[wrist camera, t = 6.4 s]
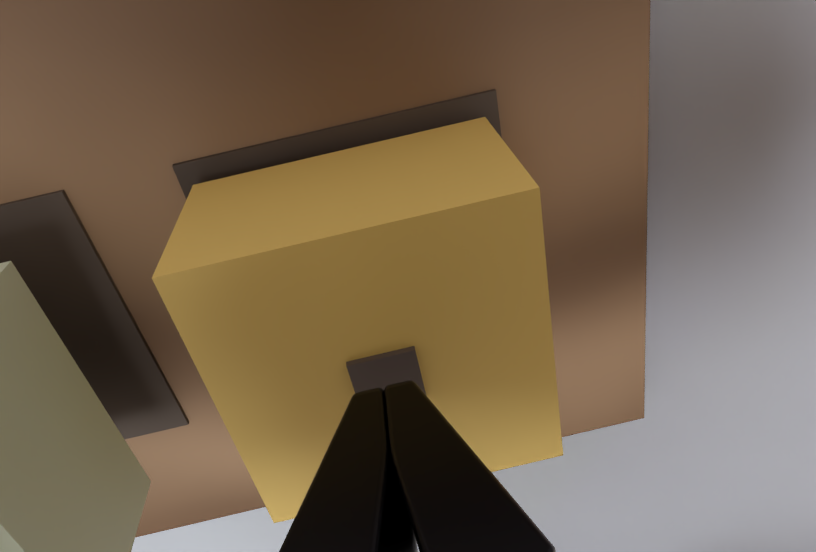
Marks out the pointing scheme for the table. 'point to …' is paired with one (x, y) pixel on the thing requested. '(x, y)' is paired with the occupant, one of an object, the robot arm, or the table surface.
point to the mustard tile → (369, 299)
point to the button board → (295, 140)
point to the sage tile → (57, 443)
